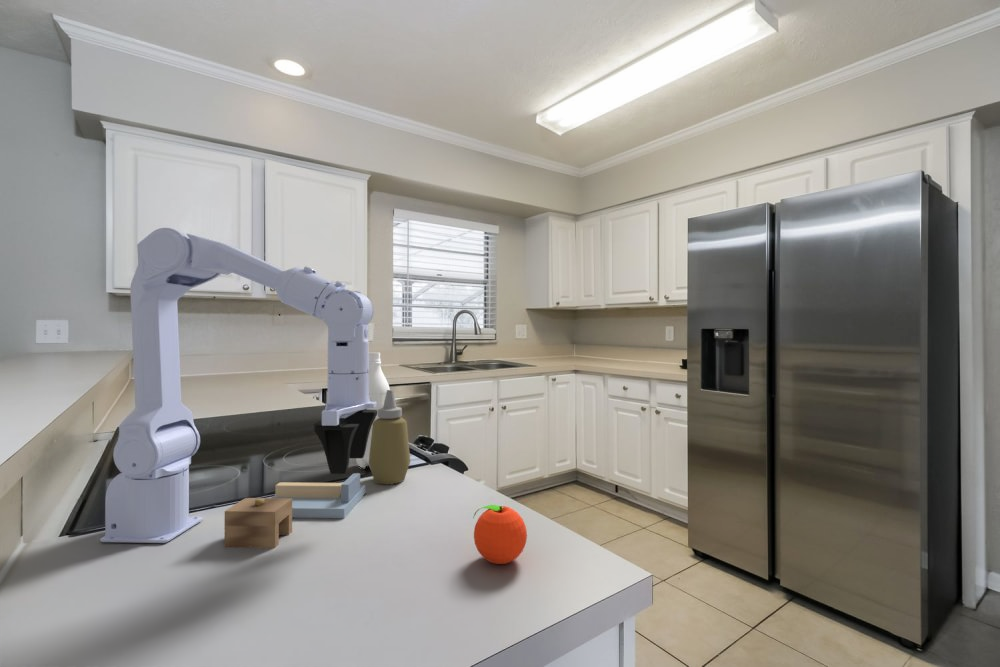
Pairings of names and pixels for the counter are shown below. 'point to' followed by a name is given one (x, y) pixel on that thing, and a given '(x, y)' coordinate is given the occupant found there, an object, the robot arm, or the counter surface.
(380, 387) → the water bottle
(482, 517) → the clementine
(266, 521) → the cabinet block
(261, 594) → the counter surface
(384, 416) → the squeeze bottle
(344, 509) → the cleat board
